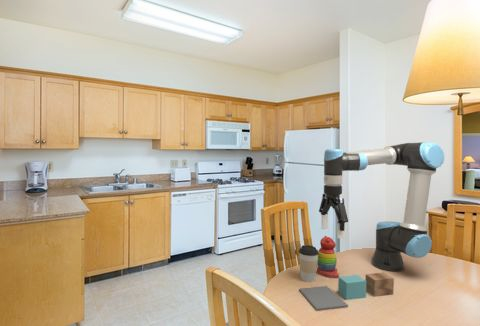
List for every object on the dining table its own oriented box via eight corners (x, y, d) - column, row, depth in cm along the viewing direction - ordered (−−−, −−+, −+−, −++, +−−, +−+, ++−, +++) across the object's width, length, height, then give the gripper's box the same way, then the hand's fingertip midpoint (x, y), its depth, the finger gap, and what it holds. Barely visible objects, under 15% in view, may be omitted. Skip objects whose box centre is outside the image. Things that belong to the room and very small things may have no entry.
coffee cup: (320, 277, 136) (321, 246, 136) (314, 284, 129) (314, 251, 128) (302, 272, 141) (303, 242, 141) (295, 279, 134) (295, 247, 133)
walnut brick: (383, 288, 126) (383, 272, 126) (393, 294, 121) (393, 278, 120) (365, 290, 124) (365, 274, 124) (374, 296, 119) (374, 280, 118)
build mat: (326, 287, 126) (326, 285, 126) (347, 307, 110) (347, 305, 110) (299, 290, 123) (299, 288, 123) (316, 310, 108) (316, 308, 108)
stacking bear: (339, 278, 135) (340, 241, 134) (317, 276, 137) (317, 239, 136) (336, 269, 146) (337, 234, 145) (315, 267, 148) (316, 233, 147)
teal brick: (356, 290, 124) (357, 274, 123) (365, 297, 118) (366, 281, 117) (338, 292, 122) (338, 276, 121) (346, 300, 116) (346, 283, 116)
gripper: (312, 181, 136) (311, 226, 137) (340, 188, 111) (339, 242, 112) (326, 181, 137) (326, 225, 138) (358, 188, 113) (357, 241, 114)
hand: (332, 233), depth 125 cm, fingers open, 13 cm apart
